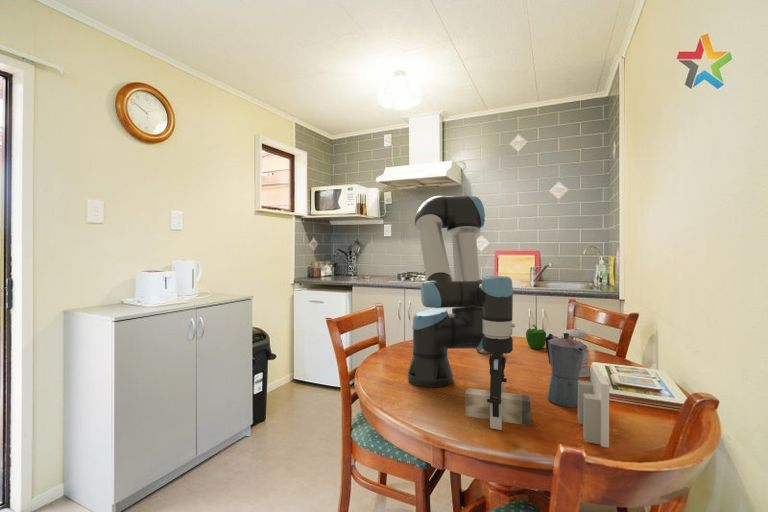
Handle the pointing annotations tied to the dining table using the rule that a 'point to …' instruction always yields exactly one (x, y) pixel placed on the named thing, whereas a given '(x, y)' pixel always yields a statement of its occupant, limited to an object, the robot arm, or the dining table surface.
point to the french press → (582, 334)
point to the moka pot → (564, 369)
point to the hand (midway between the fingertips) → (497, 416)
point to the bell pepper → (536, 338)
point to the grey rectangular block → (513, 406)
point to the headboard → (594, 407)
